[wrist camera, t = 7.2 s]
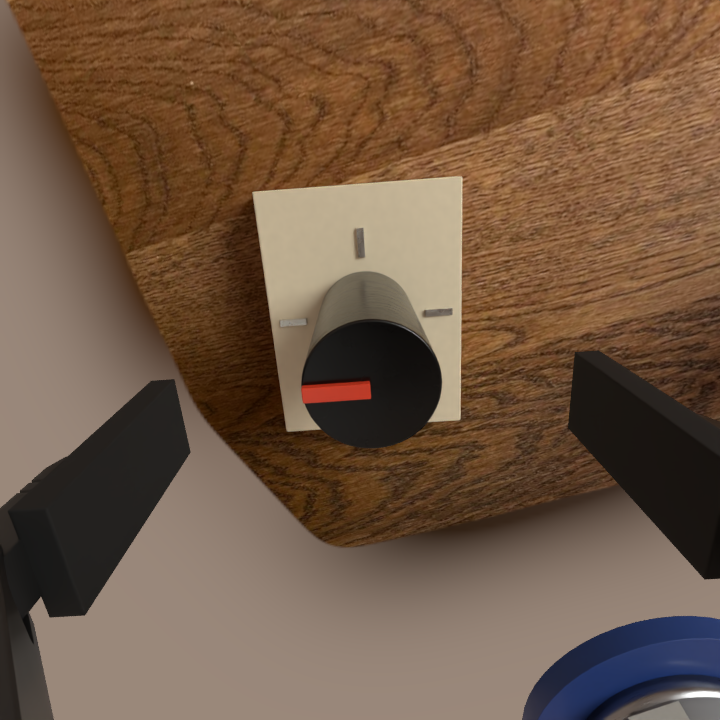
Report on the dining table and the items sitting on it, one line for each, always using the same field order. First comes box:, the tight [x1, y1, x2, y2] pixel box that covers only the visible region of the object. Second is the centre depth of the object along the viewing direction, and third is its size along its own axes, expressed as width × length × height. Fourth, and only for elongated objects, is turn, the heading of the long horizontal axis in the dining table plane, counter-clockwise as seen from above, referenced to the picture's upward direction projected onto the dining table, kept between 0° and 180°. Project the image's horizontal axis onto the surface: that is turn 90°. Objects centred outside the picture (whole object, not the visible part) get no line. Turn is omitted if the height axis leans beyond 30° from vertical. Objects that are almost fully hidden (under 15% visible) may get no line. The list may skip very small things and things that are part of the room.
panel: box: [252, 176, 462, 432], centre depth 25 cm, size 13×10×3 cm
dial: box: [301, 271, 442, 448], centre depth 20 cm, size 5×5×9 cm
